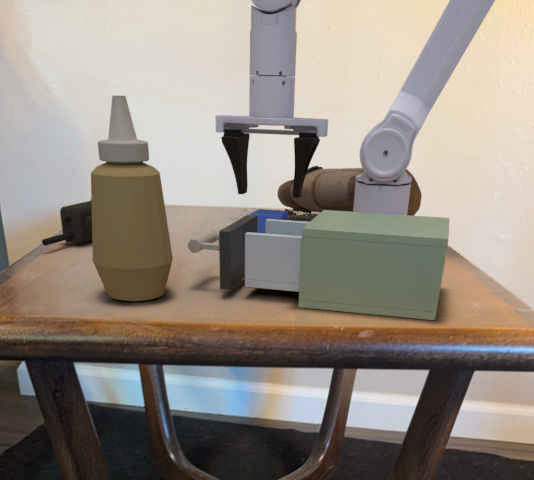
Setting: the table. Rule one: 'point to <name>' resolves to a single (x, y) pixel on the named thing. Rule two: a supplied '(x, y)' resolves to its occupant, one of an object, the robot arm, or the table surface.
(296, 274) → the grey drawer
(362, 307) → the drawer cabinet
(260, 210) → the blue rounded cube
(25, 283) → the table surface
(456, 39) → the robot arm
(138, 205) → the squeeze bottle
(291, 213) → the knife
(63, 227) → the walkie-talkie
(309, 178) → the boot
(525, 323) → the table surface
